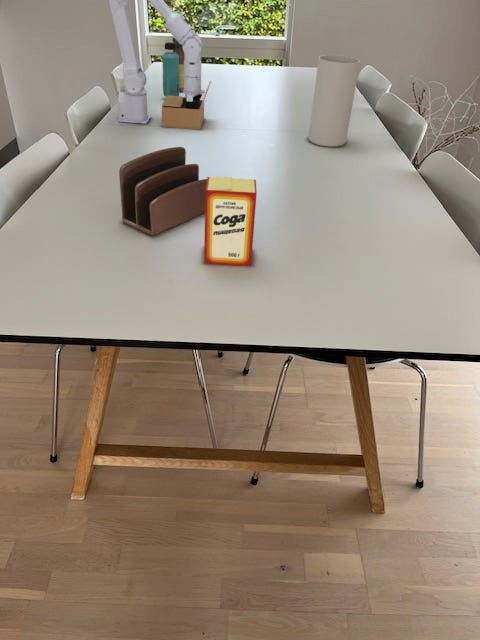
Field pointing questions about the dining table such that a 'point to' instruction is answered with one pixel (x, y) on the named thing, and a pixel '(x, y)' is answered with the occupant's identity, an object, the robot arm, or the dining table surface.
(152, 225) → the letter holder
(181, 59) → the sauce bottle
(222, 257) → the baking soda box
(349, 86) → the cylinder vase
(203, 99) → the flap
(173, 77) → the beverage bottle
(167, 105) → the carton
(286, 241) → the dining table surface
